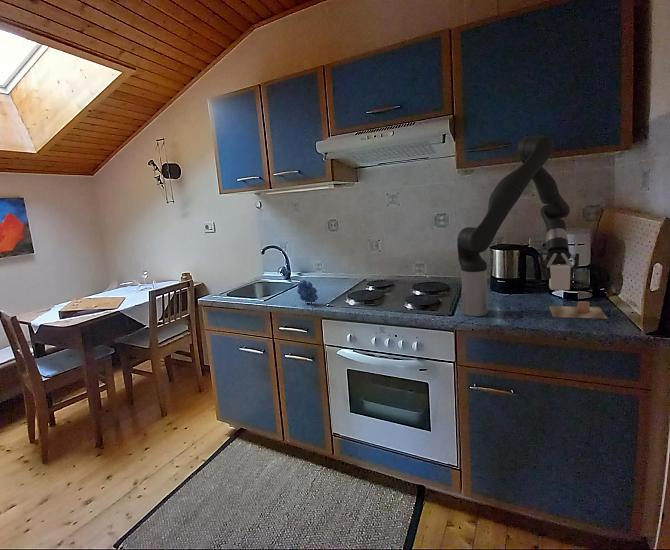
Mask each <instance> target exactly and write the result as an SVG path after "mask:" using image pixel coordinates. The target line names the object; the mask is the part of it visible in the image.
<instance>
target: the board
mask: <svg viewBox="0 0 670 550" xmlns="http://www.w3.org/2000/svg"><path fill="white" fill-rule="evenodd" d="M549 310H550V312H551V315H552V317H553V318H570V319H571V318H573V319H574V318H575V319H577V318H581V319H609V318H608V317H607V315H606V313H604V311H603V310H602V308H601V307H599V306H590V309H589V313H587V314H583V313H578V312H577V306H567V305H566V306H563V305H562V306H561V305H560V306H559V305H549Z"/></svg>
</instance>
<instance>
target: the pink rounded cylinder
mask: <svg viewBox="0 0 670 550" xmlns="http://www.w3.org/2000/svg"><path fill="white" fill-rule="evenodd" d="M590 305H591V304H590V301H587V300H585V301H584V300H580V301H577V306H576V307H577V312H578V313H583V314H587V313H589V309H590V307H591V306H590Z"/></svg>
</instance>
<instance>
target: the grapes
mask: <svg viewBox="0 0 670 550" xmlns="http://www.w3.org/2000/svg"><path fill="white" fill-rule="evenodd" d="M317 292H318V290H317V289H316V288H315V287H313V284H312V282H310V281H306V280H303V279H302V280H301V282H298V283H297V290H296V293H297V294H298V295H299V299H300V300H301V301H304V303H305V302H311V303H312V302H315V303H316V301H317V300H318V299H319V296H318V295H317ZM311 303H310V304H311Z"/></svg>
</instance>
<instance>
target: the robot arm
mask: <svg viewBox="0 0 670 550" xmlns="http://www.w3.org/2000/svg"><path fill="white" fill-rule="evenodd" d="M554 148H555V141H554V139H553V137H551V136H549V135H529V136H524V137H523V138H521V139H520V141H519V143H518V144H517V155H518V158H519V160H520V161H521V163H522V164H521V165H520V166H519V167H518V168H516V169H514V170H513V171H511V172H510V173H509V174H507V175H505V176H504V177H503V178H502V179H500V181H499V182H498V183H497V185H496V186H495V188H494V189H493V190H492V192H491V193H490V195H489V199H488V205H487V212H486V214H485V216H484V218H483V220H481V222H480V223H479V225H478V226H477V227H474V226H473V227H472V226H471V227H464V228H462V229H461V230H460V231H459V233H458V236H457V241H456V243H457V247H456V248H457V256H458V263H459V265H460V270H461V271H460V272H461V273H460V274H461V275H460V276H461V293H460V296H461V314H462V315H463V316H469V317H483V316H486V315H488V314H489V311H488V310H489V307H488V300H489V299H488V297H489V296H488V264H487V261H485V260H484V259H483V258H482V256H481V254H482V253H484V252H486V250H488V249H489V247H490V246H491V244H492V242H493V240H494V238H495V237H496V235H497V233H498V231H499V229H500V227H501V225H502V223H503V222H504V221H505V219H506V218H507V216H508V215H509V213H510V212H511V210H512V208H513V207H514V206H515V205H516V203H517V202H518V200H519V198H520V197H521V196H522V194H523V193H524V191H525V190H526V188H527V187H528V185H529V184H530V183H531V181H533V183H534V186H535V188H536V191H537V194H538V196H539V199H540V202H541V203H542V204H545V205H543V206H542V207H541V208H540V211H539V213H540V216H541V218H542V220H543V222H544V224H545V228H546V229H545V231H546V238H545V240H546V241H545V244H546V254H541V253H540V254H538V262H539V268H540V270H542V271H543V270H544V271H545V275H546V278H548V280H549V279H551V270H550V266H551V265H568V266H570V280H572V278H574V270H578V268H579V265H580V253H579V252H577V253H575V254H571V252H570V246H569V238H568V237H567V236H568V233H566V232H567V225H566V221H565V220H563V218H565V219H566V218H567V217H568V216H569V215H570V211H571V210H570V206H569V204H568V203H567V201H566V200H565V199H564V198H563V197H562V195H561V194H560V192H559V189H558V185H557V182H556V180H555V179H554V177H553V176H552V174H550V173H549V172H548V170H547V169H545V168H544V167H543V166H544V165H545V163H546V162H547V161H548V160H549V159H550V157H551V155H552V153H553V151H554ZM480 253H481V254H480ZM545 259H546V260H547V261H548V262H547V264H545ZM570 259H572V261H573V264H572V263H571V260H570Z"/></svg>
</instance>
